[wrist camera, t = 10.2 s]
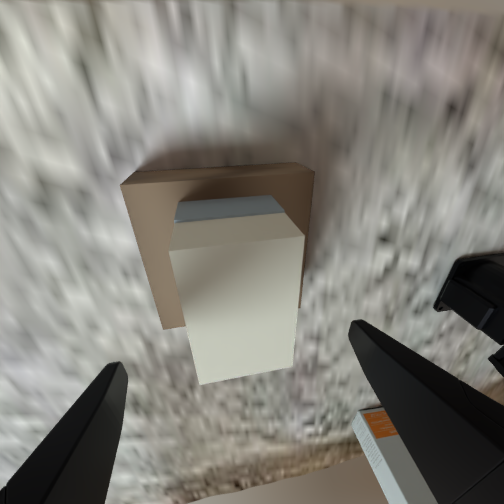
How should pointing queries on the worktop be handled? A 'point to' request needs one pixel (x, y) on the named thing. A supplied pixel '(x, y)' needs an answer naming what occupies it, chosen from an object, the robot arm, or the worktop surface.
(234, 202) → the base plate
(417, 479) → the skincare box
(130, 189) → the walnut stand
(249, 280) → the lid plate
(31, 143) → the worktop surface
